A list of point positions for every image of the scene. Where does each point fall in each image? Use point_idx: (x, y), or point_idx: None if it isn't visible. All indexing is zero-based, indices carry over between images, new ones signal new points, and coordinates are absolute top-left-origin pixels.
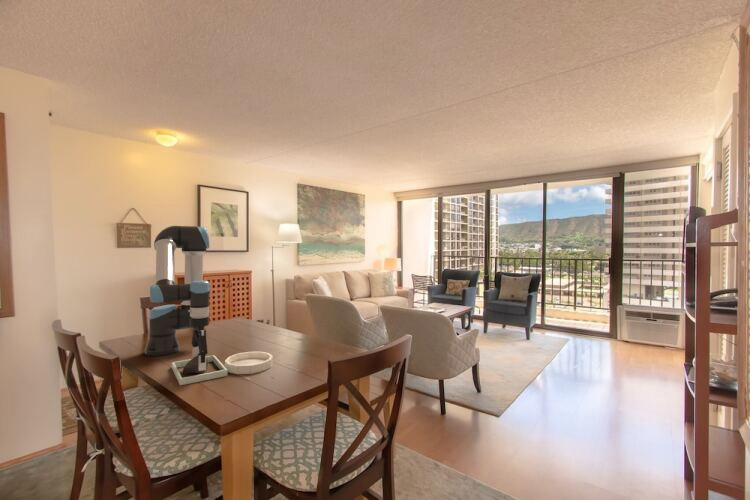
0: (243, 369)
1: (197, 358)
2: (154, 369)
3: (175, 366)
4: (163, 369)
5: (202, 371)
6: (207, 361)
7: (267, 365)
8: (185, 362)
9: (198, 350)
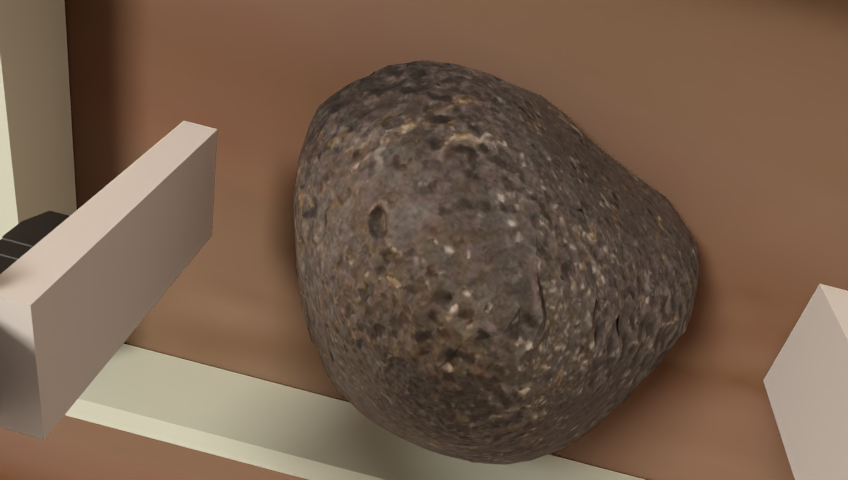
0: None
1: (546, 423)
2: (15, 464)
3: (246, 450)
4: (69, 417)
5: (694, 254)
6: (506, 122)
7: None
8: None
9: (91, 269)
